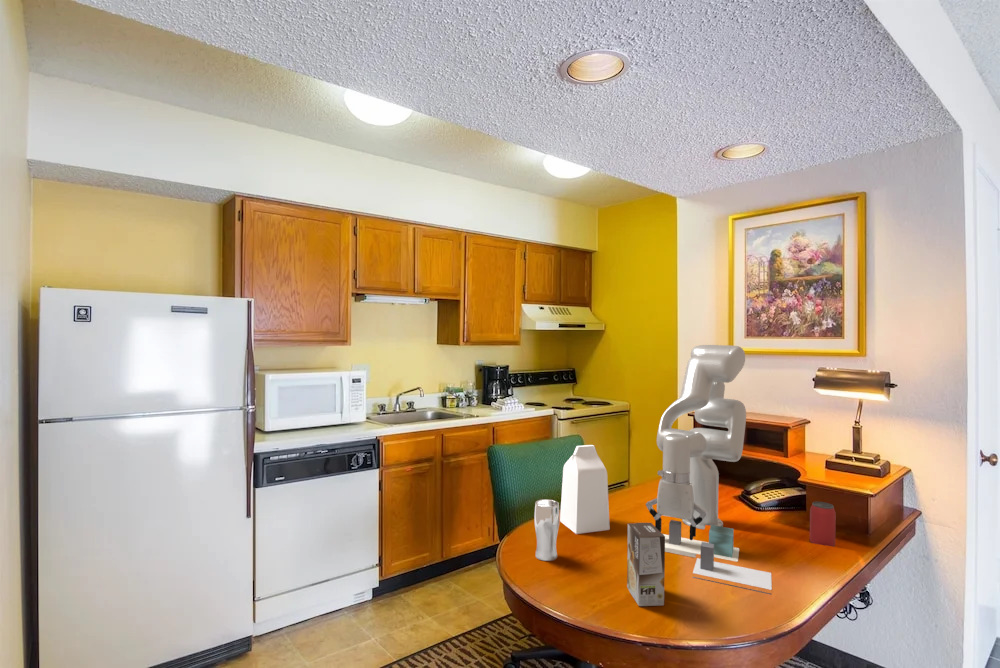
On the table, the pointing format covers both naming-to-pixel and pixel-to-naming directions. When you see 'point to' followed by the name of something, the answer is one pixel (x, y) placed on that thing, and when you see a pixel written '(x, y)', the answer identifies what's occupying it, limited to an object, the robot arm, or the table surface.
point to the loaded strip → (688, 544)
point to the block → (722, 540)
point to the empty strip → (729, 571)
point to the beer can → (822, 524)
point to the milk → (585, 492)
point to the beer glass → (546, 528)
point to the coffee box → (646, 564)
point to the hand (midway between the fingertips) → (675, 535)
